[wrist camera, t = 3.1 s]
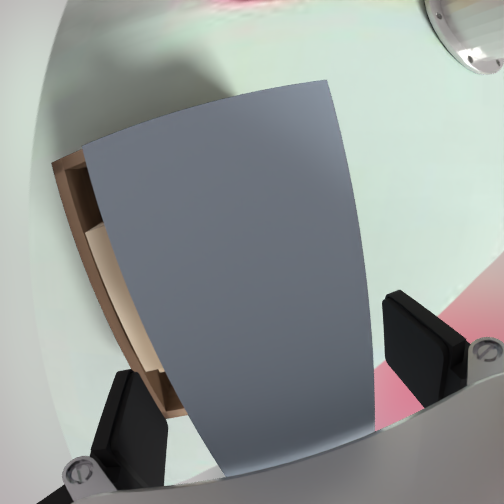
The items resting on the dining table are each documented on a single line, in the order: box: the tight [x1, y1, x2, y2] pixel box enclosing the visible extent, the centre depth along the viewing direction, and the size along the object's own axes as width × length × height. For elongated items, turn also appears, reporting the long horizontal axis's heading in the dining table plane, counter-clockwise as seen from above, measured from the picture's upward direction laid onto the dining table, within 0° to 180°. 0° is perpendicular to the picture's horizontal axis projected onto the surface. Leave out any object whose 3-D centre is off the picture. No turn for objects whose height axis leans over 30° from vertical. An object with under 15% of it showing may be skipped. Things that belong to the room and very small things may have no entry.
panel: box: [82, 80, 375, 477], centre depth 16 cm, size 4×16×20 cm, turn 14°
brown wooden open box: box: [52, 149, 188, 419], centre depth 23 cm, size 13×21×6 cm, turn 14°
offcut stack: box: [85, 222, 165, 372], centre depth 22 cm, size 4×14×8 cm, turn 15°
